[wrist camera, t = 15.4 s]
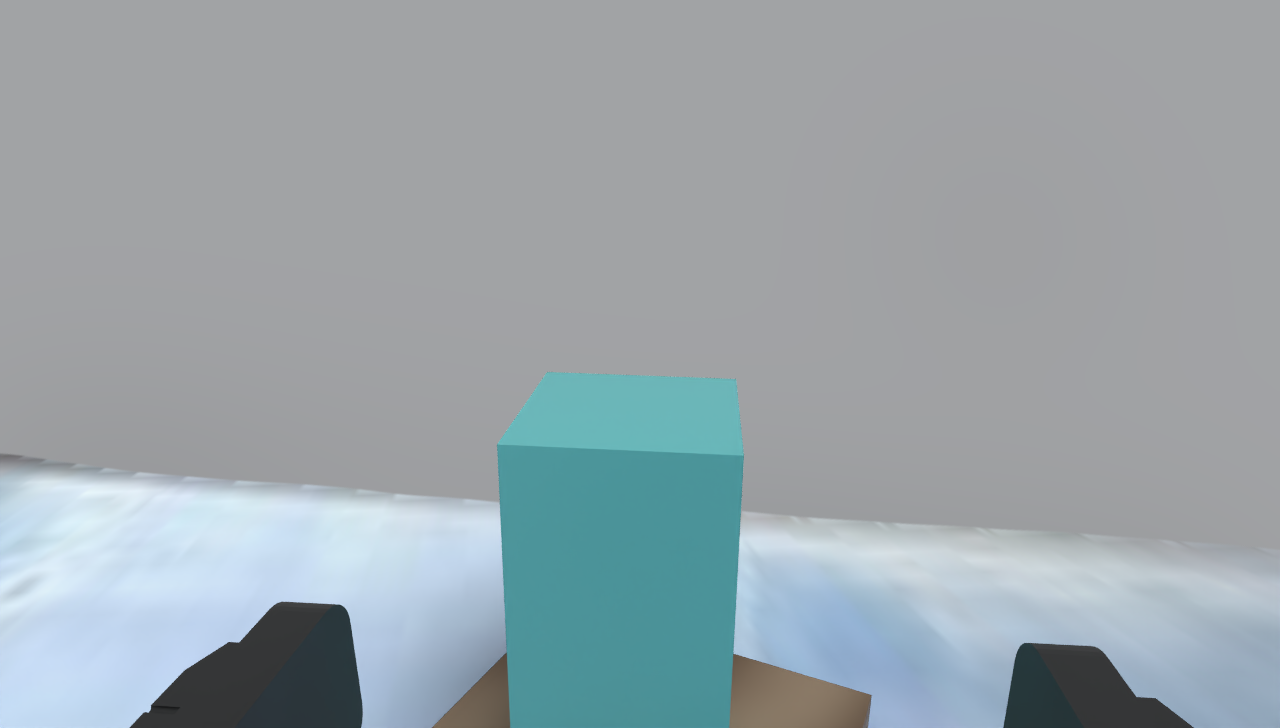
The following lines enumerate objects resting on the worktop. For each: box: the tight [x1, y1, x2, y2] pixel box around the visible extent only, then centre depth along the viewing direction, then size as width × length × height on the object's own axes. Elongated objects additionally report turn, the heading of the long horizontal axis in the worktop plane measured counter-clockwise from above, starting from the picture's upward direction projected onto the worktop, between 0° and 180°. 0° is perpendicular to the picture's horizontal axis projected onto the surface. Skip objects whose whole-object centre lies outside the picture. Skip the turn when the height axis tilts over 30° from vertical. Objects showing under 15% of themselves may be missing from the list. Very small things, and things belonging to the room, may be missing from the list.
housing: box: [497, 372, 744, 728], centre depth 21 cm, size 5×5×11 cm
